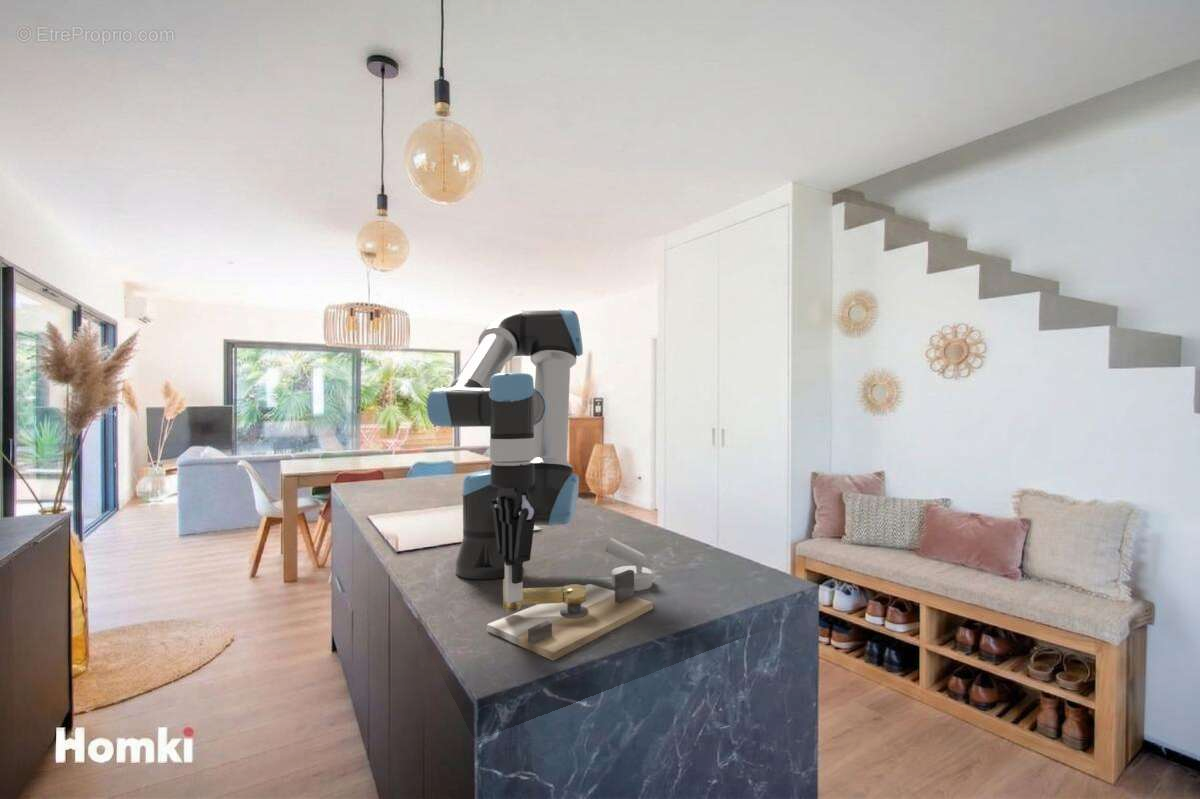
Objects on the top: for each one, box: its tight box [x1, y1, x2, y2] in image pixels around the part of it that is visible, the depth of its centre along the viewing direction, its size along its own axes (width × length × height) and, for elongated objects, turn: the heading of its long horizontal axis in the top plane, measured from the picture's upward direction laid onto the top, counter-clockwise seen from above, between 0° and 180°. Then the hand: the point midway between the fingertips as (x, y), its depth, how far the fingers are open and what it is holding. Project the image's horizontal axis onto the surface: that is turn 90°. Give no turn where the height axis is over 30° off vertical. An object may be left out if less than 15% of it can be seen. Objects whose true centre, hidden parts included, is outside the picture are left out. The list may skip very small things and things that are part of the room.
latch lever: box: [502, 578, 586, 612], centre depth 93 cm, size 15×4×5 cm, turn 96°
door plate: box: [486, 570, 654, 661], centre depth 94 cm, size 16×26×6 cm, turn 139°
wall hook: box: [605, 537, 653, 592], centre depth 112 cm, size 9×10×10 cm
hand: (513, 600), depth 90 cm, fingers closed
